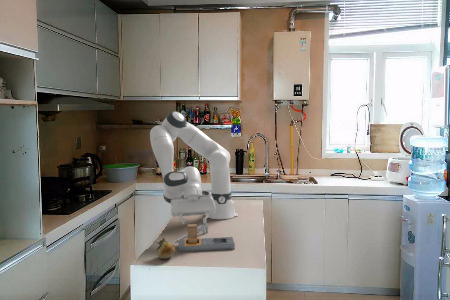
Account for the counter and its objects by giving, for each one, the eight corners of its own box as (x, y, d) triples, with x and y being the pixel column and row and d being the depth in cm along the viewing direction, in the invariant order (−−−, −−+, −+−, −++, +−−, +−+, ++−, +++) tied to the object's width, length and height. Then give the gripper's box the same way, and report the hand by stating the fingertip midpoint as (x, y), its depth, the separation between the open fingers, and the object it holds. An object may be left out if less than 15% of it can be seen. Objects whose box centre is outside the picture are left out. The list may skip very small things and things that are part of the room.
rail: (179, 245, 170) (179, 238, 170) (232, 242, 172) (232, 236, 172) (178, 251, 161) (178, 245, 161) (234, 249, 163) (234, 242, 163)
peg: (188, 246, 168) (187, 224, 167) (197, 246, 168) (196, 224, 167) (188, 249, 164) (187, 227, 163) (197, 249, 164) (196, 226, 163)
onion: (156, 262, 149) (155, 242, 149) (156, 255, 157) (155, 236, 157) (175, 261, 151) (175, 241, 150) (175, 254, 159) (174, 235, 158)
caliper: (206, 232, 188) (206, 220, 188) (208, 233, 188) (207, 220, 187) (174, 243, 174) (174, 229, 173) (176, 243, 173) (175, 230, 172)
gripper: (170, 194, 174) (170, 220, 165) (214, 191, 176) (216, 217, 167) (170, 201, 179) (171, 227, 170) (213, 199, 181) (216, 224, 172)
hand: (194, 222), depth 169 cm, fingers open, 8 cm apart
